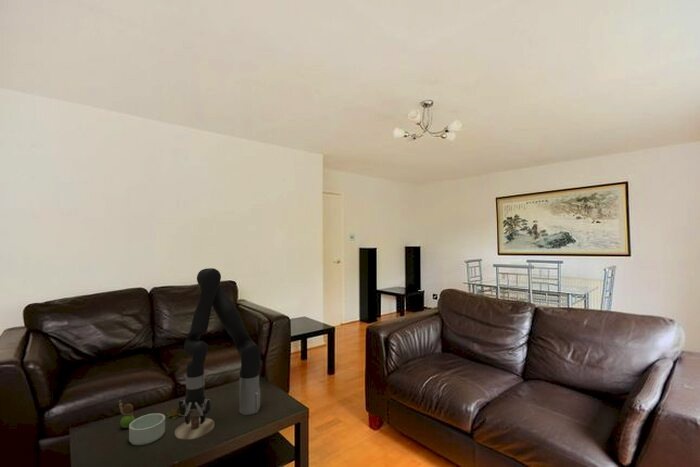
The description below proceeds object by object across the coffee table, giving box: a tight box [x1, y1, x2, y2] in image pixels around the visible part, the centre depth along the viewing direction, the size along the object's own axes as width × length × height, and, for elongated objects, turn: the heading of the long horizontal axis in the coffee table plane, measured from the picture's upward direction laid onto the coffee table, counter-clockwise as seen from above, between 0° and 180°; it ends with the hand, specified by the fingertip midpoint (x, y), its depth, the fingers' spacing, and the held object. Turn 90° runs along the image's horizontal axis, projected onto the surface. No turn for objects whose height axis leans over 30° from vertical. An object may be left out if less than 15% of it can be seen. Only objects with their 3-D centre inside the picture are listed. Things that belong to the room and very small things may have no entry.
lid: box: [174, 413, 215, 441], centre depth 146 cm, size 16×16×6 cm
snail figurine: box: [118, 399, 136, 429], centre depth 148 cm, size 5×6×12 cm
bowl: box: [128, 412, 166, 446], centre depth 140 cm, size 13×13×6 cm
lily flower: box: [165, 403, 192, 421], centre depth 159 cm, size 12×12×5 cm
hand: (195, 423), depth 146 cm, fingers open, 5 cm apart
